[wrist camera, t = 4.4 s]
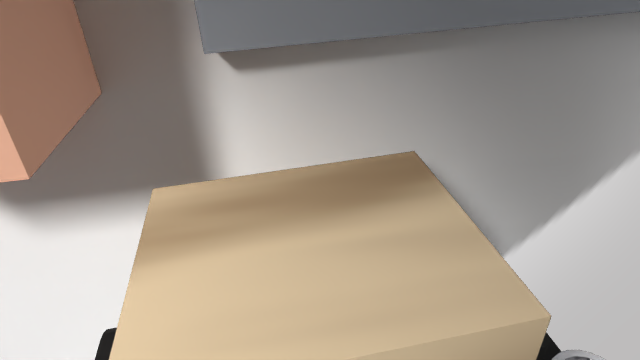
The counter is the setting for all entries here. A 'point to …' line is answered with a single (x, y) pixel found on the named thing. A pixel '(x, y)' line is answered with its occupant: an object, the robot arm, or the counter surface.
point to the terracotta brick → (40, 81)
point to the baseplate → (371, 18)
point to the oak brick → (322, 272)
